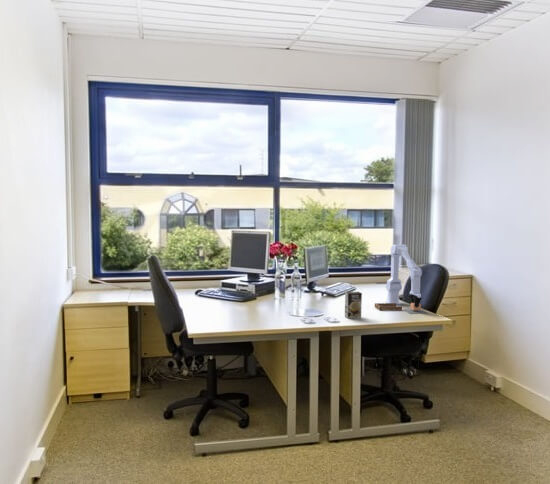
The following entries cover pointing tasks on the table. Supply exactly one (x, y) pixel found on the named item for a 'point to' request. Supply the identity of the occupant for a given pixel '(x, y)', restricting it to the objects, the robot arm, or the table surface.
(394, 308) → the cubby
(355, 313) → the coffee box
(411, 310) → the mat
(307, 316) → the table surface
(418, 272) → the robot arm
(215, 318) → the table surface
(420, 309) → the block
